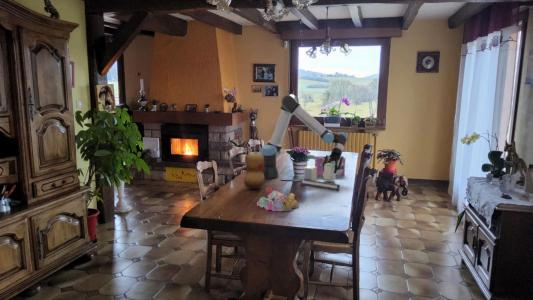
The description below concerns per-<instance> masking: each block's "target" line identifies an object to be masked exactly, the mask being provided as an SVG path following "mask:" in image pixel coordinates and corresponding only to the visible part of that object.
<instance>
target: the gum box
mask: <svg viewBox="0 0 533 300" xmlns="http://www.w3.org/2000/svg"><path fill="white" fill-rule="evenodd" d="M341 157H343V159H344V160H343V161H342V165H341V168H340V170H337V172H336V176H342V175H343V176H344V175H346V174H345V172H346V169H345V168H346V157H344V156H342V155H341ZM325 158H326V156H315V157H314V166H315V167H317V176H323V169H324V168H323V166H322V165H323V162H324V160H325ZM329 159H330V157H329ZM329 159H328V161H329ZM328 161H327V162H328ZM339 162H340V159H339V160H338V165H339ZM331 163H334V164H335V161H332V162H331Z"/></svg>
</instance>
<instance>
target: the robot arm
mask: <svg viewBox="0 0 533 300" xmlns="http://www.w3.org/2000/svg"><path fill="white" fill-rule="evenodd" d="M293 115H294V116H295V117H296V118H297V119H299V120H300V121H301V122H302V123H303V124H304V125H306V126H307V127H308V128H309V129H310V130H311V131H313V132H314V133H315V134H316V135H317V136H318V137H320V138H321V139H322V140H323V142H324V143H325V144H331V143H333V147H332V150H331V153H330V155H328V154H326V155H325V157H326V158H325V160H324V162H323V165H322V166H323V168H324V164H327V163H331V162H332V161H335V168H334V169H333V172H332V175H331V176H332V178H333V177H334V174H336V172H337V170H340V168H341V165H342V161H343V160H344V159H343V157H344V156H343V157H341V156H342V154H343V151H344V149H345V146H346V143H347V141H348V138H349V137H348V134H347V133H346V132H342V131H340V132H338V133H337V132H335V131H332V130H330V129H327V128H326V127H325V126H323V125H322V124H321V122H319V121H318V120H317V119H316V118H314V117H313V115H311V114H310V113H309V112H308V111H306V109H304V108H303V107H302V105H301V103H300V100H299V97H297V95H295V94H294V93H289V94H285V95H284V96H283V97H282V98H281V106H280V114H279V117H278V120H277V122H276V125H275V128H274V131H273V133H272V136H271V139H270V140H267V141H268V142H267V143H266V145H263V146H262V147H261V149H260V153H261V154H263V156H264V168H263V174H264V179H267V180H269V179H270V180H271V179H272V180H273V179H277V178H279V171H278V168H277V159H278V158H279V157H280V156H281V150H282V147H283V145H282V143H283V139H284V136H285V134H286V131H287V129H288V126H289V124H290V121H291V117H292V116H293ZM329 157H330V159H329ZM328 159H329V161H328ZM339 159H340V162H339V165H338V160H339ZM327 161H328V162H327ZM322 176H323V177H324V169H323V175H322Z"/></svg>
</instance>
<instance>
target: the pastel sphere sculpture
mask: <svg viewBox="0 0 533 300" xmlns="http://www.w3.org/2000/svg"><path fill="white" fill-rule="evenodd" d="M265 192H266V194H267V198H266V197H265V196H261V197H260V198H259V200H257V202H256V206H257V207H258V206H260V207H259V208H263V207H264V209H265V210H266V211H268V210H272V212H276V211H277V212H289V211H292V210H293V209H295V208H299V201H298V200H296V199H295V197H296V194H295V193H293V192H290V193H289V194H288V195H284V194H283V193H282V192H279V191H278V190H273V188H272V187H271V186H268V187H266V188H265Z"/></svg>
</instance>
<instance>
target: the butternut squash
mask: <svg viewBox="0 0 533 300" xmlns="http://www.w3.org/2000/svg"><path fill="white" fill-rule="evenodd" d="M245 166H246V167H245V168H246V172H245V175H244V179H243V181H244V182H243V183H244V185H245V187H246V188H248V189H250V190H258V189H261V187H263V186H264V183H265V178H264V174H263V168H264V156H263V154H261V152H259V151H251V152H249V153H248V154H247V156H246V161H245Z"/></svg>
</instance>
